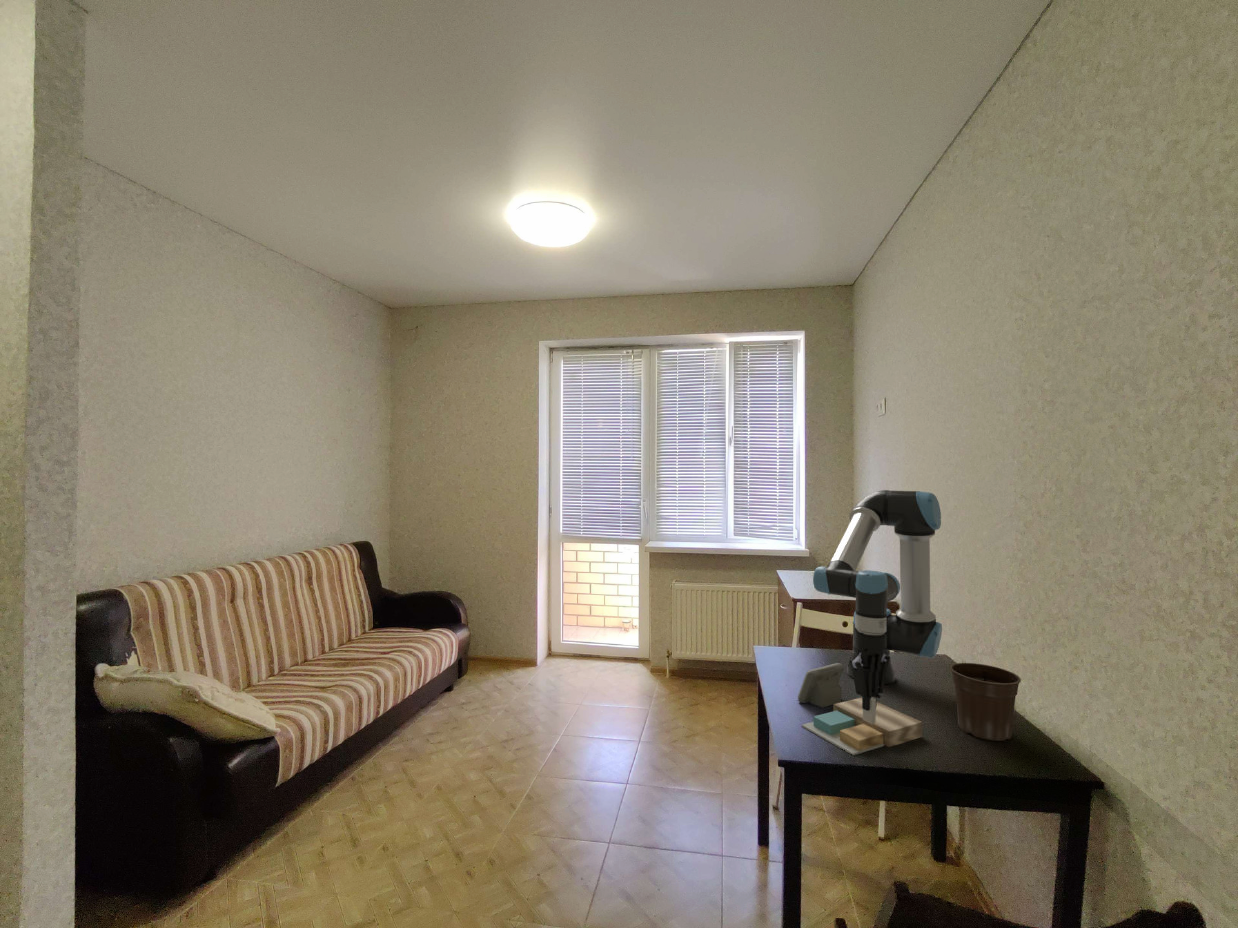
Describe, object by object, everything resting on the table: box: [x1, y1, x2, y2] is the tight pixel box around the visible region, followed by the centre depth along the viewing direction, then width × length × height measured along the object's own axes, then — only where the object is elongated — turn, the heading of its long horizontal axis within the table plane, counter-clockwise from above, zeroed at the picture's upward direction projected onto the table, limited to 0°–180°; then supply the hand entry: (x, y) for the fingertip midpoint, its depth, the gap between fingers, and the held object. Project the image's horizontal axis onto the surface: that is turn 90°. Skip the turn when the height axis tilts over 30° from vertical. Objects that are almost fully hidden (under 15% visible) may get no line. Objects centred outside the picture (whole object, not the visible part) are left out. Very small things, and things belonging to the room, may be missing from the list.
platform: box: [832, 696, 923, 748], centre depth 154 cm, size 13×18×4 cm
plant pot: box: [949, 662, 1022, 742], centre depth 153 cm, size 16×16×16 cm
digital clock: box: [797, 662, 844, 708], centre depth 172 cm, size 16×9×11 cm, turn 111°
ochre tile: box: [840, 724, 883, 751], centre depth 145 cm, size 9×6×2 cm, turn 117°
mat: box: [801, 721, 885, 756], centre depth 149 cm, size 12×17×1 cm
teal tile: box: [812, 711, 855, 735], centre depth 153 cm, size 9×6×2 cm, turn 117°
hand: (869, 721), depth 146 cm, fingers closed
